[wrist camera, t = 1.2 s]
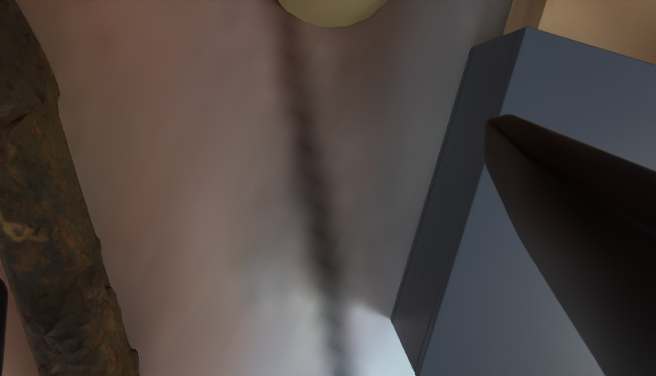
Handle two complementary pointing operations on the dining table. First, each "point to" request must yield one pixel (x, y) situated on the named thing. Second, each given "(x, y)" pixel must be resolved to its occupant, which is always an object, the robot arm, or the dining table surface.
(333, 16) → the pawn game piece
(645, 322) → the robot arm
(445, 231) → the cabinet
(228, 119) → the dining table surface
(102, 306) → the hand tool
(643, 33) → the drawer
